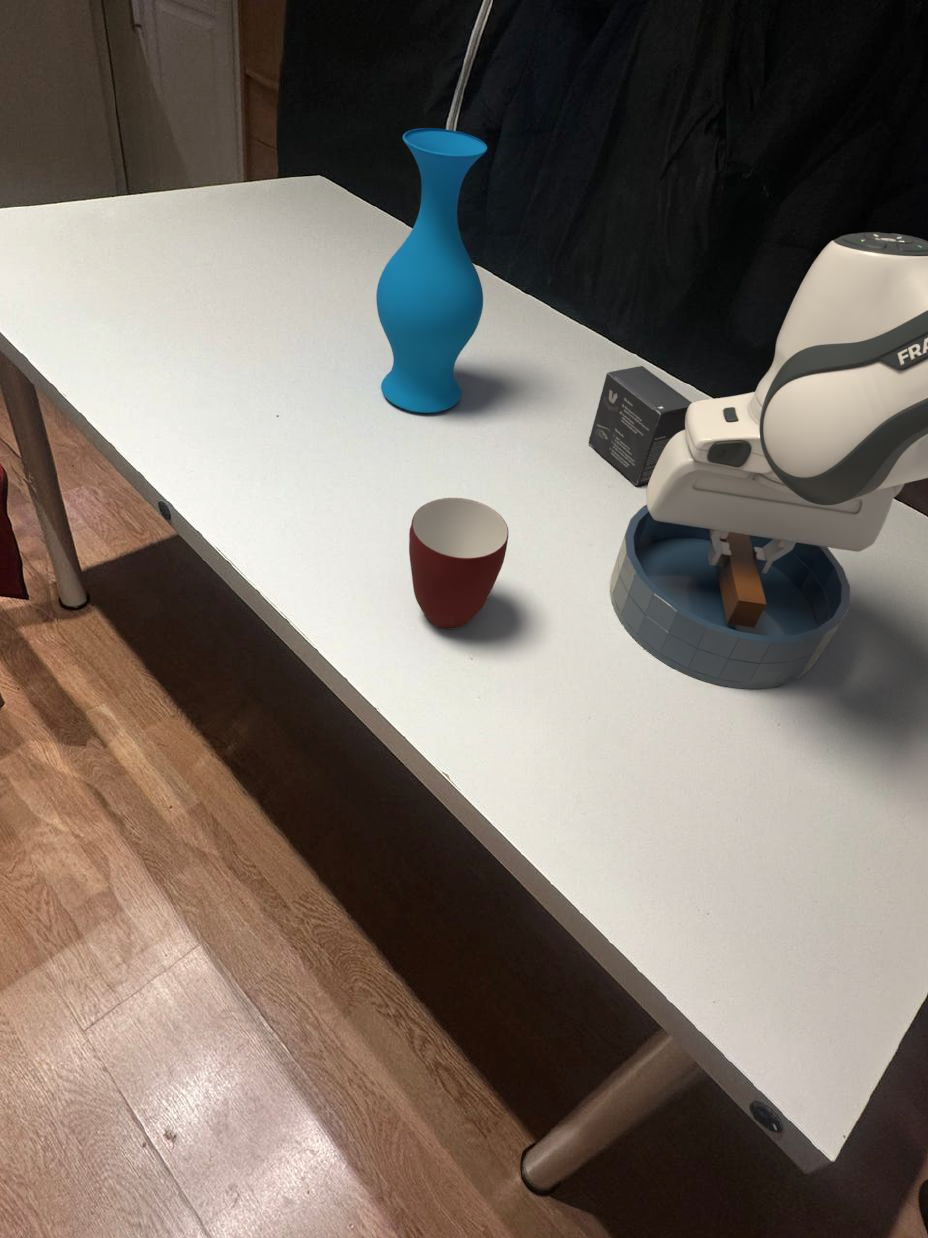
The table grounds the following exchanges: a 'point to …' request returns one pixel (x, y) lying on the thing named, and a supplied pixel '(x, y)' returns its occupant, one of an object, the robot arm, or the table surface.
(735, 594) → the stick
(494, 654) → the table surface
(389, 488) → the table surface
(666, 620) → the bowl
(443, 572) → the mug
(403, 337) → the vase
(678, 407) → the box
